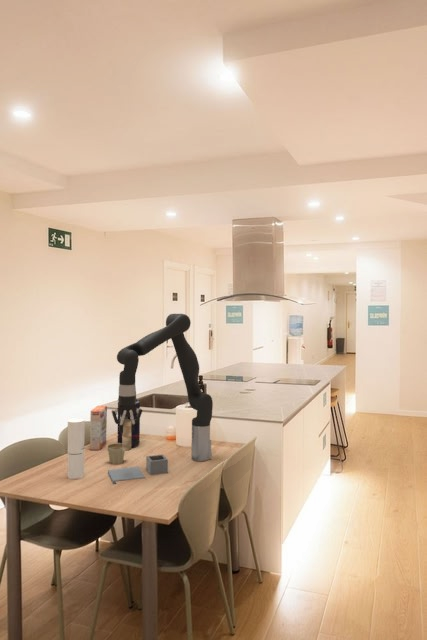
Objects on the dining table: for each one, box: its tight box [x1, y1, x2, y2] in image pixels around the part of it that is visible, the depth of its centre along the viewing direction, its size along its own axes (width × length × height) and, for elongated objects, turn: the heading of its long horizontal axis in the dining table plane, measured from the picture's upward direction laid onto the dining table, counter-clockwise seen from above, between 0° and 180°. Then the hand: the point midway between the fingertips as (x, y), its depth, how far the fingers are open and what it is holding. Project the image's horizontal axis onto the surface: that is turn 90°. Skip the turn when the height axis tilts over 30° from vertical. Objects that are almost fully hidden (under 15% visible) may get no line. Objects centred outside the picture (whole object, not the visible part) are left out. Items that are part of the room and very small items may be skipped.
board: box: [107, 466, 146, 485], centre depth 212 cm, size 14×14×2 cm
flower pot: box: [106, 442, 126, 465], centre depth 230 cm, size 9×9×9 cm
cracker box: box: [89, 405, 108, 451], centre depth 257 cm, size 14×6×21 cm, turn 179°
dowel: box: [122, 420, 132, 452], centre depth 212 cm, size 4×4×13 cm
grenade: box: [117, 396, 141, 449], centre depth 259 cm, size 14×12×30 cm
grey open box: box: [145, 454, 169, 476], centre depth 218 cm, size 8×8×7 cm
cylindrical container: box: [66, 418, 85, 480], centre depth 212 cm, size 7×7×25 cm
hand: (126, 432), depth 212 cm, fingers closed on dowel, 4 cm apart
